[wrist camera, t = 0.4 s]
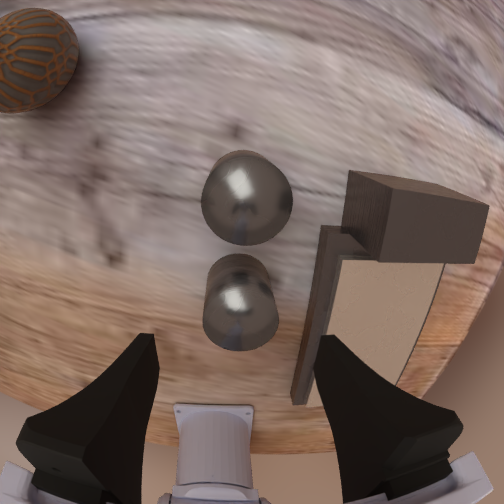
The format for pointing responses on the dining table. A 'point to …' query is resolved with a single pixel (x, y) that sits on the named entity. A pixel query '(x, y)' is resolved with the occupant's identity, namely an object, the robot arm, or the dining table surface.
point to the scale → (384, 271)
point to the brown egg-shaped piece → (34, 58)
